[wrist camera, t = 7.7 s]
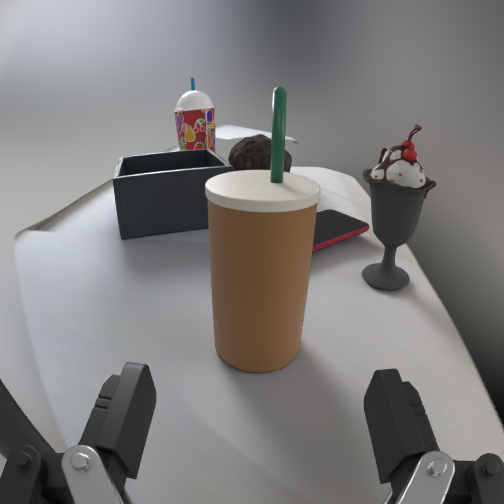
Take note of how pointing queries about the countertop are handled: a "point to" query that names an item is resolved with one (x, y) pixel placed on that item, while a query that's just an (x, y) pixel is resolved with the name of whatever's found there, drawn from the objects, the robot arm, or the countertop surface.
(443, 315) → the countertop surface
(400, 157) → the sundae
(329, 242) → the smartphone
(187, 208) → the bin
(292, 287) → the takeaway cup
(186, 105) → the smoothie
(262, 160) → the rock
